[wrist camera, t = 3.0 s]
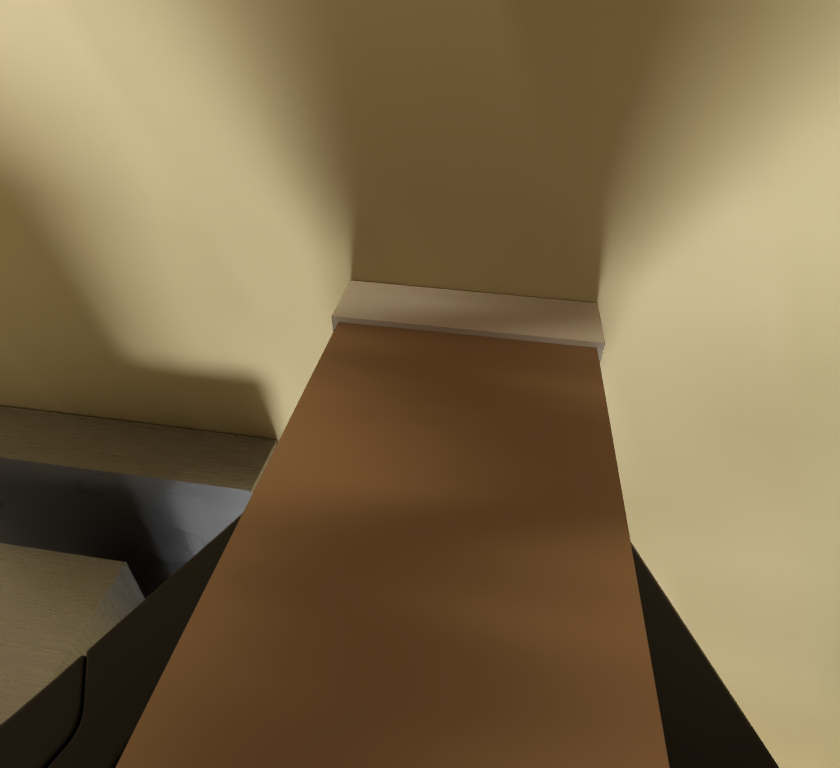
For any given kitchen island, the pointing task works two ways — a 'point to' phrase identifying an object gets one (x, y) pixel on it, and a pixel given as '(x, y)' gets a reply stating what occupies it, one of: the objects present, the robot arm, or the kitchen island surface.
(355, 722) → the brown rectangular block
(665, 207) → the kitchen island surface
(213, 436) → the bracket
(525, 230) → the kitchen island surface
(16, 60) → the kitchen island surface
